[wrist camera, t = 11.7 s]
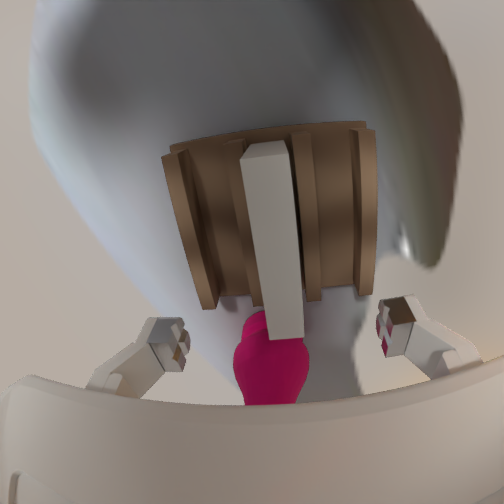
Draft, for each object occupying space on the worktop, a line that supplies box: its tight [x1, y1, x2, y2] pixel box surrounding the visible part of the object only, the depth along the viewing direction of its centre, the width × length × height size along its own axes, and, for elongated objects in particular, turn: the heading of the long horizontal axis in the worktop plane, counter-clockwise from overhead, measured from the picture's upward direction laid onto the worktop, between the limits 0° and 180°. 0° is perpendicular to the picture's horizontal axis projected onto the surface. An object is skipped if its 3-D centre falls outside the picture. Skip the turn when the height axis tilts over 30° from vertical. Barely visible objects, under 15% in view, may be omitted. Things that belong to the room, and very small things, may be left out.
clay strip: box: [240, 140, 305, 340], centre depth 19 cm, size 12×2×7 cm, turn 9°
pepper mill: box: [233, 311, 309, 405], centre depth 21 cm, size 7×7×20 cm
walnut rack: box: [161, 121, 378, 310], centre depth 22 cm, size 14×15×4 cm
